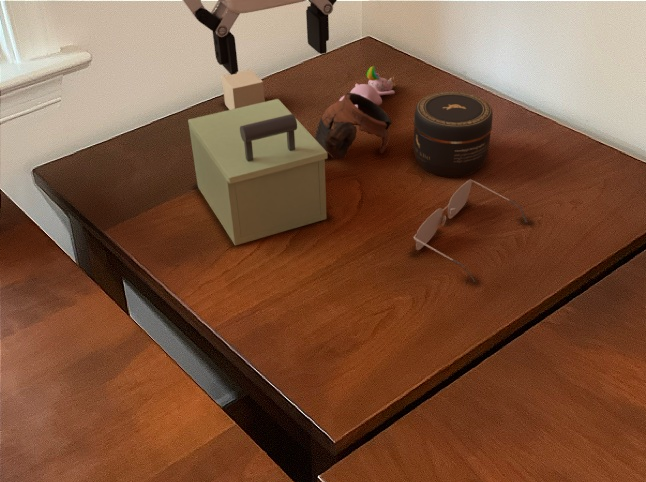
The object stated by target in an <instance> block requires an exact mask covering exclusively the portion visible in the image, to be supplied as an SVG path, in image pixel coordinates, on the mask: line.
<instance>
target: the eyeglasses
mask: <svg viewBox="0 0 646 482" xmlns="http://www.w3.org/2000/svg"><path fill="white" fill-rule="evenodd" d="M472 184H475V185H478V186H480V187H481V188H483V189H485V190H487V191H489V192H491V193H493V194H495V195H497V196H499V197H501V198H502V199H505V200H506V201H508V202H510V203H511V204H513V205H515V206H516V207H518V208H519V210H520V211H521V214H522V217H523V220H524V222H525V223H526V224H527V223H528V220H527V218H526V216H525V213H524V210H523V209H522V207H521V205H519V204H518V203H516V202H514V201H513V200H511V199H509V198H507V197H506V196H503V195H501V194H500V193H498V192H496V191H494V190H492V189H491V188H488V187H487V186H485V185H483V184H481V183H480V182H477V181H475V180H473V179H471V178H470V179H468V180H467V181H466V182H464V183H463V184H461V186H460V187H459V188H458V189H456V191H455V192H453V194H452V196H451V197H450V199H449V201H448V204H447V205H446V206H445V207H444V208H441V207H440V208H437V209H436V210H435V211H433V213H431V214H430V216H428V217H427V218H426V219H425V221H423V222H422V224H421V225H420V226H419V228H418V229H417V232H416V233H415V234H414V235H413V240H414V241H415V250H416V251H420V250H421V249H422V248H424V247H426V248H428V249H430V250H432V251H434V252H436V253H438V254H439V255H441V256H443V257H445V258H447V259H449V260H451V261H452V262H454V263H455V264H457V265H459V266H461V267H463V268H464V269H465V270H466V272H467V273H468V275H469V276H470V278H471V280H472V281H473V282H476V280H475V278H474V276H473V275H472V273H471V271H470V270H469V269H468V267H466V265H464V264H462V263H460V261H457V260H455V259H453V258H451V257H450V256H449V255H446V254H445V253H442V252H441V251H439V250H438V249H435V248H434V247H432V246H431V245H429V244H427V243H428V242H429V241H430V240H431V239H432V238H433V237H434V236H435V234H436V233H437V230H438V228H439V226H441V227H444V225H445V223H446V221H447V218H448V219H449V220H451V219H452V218H453V217H455V216H456V215H457V214H458V213H459V212H460V211H461V210H462V209H463V207H464V206H465V205H466V203H467V201H468V198H469V195H470V192H471V188H472ZM446 209H447V216H446V215H443V212H444V211H445V210H446ZM525 223H524V224H525Z"/></svg>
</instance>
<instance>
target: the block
mask: <svg viewBox="0 0 646 482" xmlns="http://www.w3.org/2000/svg"><path fill="white" fill-rule="evenodd" d="M221 82H222V90H223V100H224V105H225V106H226V108H227V109H228V110H232V109H236V108H241V107H245V106H249V105H254V104H258V103H262V102H266V100H265V99H266V98H265V88H264V87H265V86H264V81H263V80H262V79H261V78H260V77H259V76H258V74H256V72H255V71H254V70H253V69H246V70H242V71H238V72H237V74H233V75H231V74H230V73H228V74H224V75H221Z"/></svg>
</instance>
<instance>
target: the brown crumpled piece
mask: <svg viewBox="0 0 646 482" xmlns="http://www.w3.org/2000/svg"><path fill="white" fill-rule="evenodd" d="M344 95H345V96H344ZM344 95H343V96H344V98H343V100H342V101H339V100H338V101H336V102H334V103H332V104H331V105H329V106H328V108H326V109H325V111H324V113H323V114H322V115H321V117H320V121H319V122H318V126H317V127H316V130H315V137H314V139H315V140H316V141H317V142H318V143H319V144H320V145H321V146H322V147H323V148H324V149H325V151H326V152H327V154H329V155H330V156H331V158H332V159H335V160H344V159H346V156H347V155H348V152H349V149H350V147H351V146H352V145H353V143H354V142H355V140H356V137H357V131H358V130H359V131H360V132H364V133H366V134H368V135H374V136H375V137H377V138H381V145H380V147H379V149H378V151H379V153H380V154H383V153H384V152H385V151H386V148H387V146H388V143H389V127H390V126H391V125H392V123H393V122H392V119H391V117H390V115H389V114H388V113H387V112H386V111H385V110H384V109H383V108H382V107H380V105H379V106H378V105H376V104H375V103H374V102H372V101H371V100H369V99H367V98H365V97H363V96H361V95H358V94H355V93H350V92H346V93H345V94H344ZM355 105H358V108H357V107H356V106H355ZM358 126H359V127H358ZM357 127H358V130H357Z"/></svg>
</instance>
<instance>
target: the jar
mask: <svg viewBox="0 0 646 482" xmlns="http://www.w3.org/2000/svg"><path fill="white" fill-rule="evenodd" d="M413 115H414V118H413V144H412V145H413V152H414V156H415V160H416V162H417V163H418V164H419V166H420V167H421V168H422V169H423V170H425V171H426V172H428V173H430V174H433V175H436V176H440V177H445V178H446V177H447V178H460V177H465V176H469V175H471V174H474V173H475V172H477V171H478V170H479V169H481V168H482V167H483V165H484V163H485V161H486V160H487V157H488V154H489V149H490V141H491V133H492V130H493V119H494V113H493V108H492V106H491V105H490V104H489V102H488V101H486V100H485V99H483V98H482V97H480V96H478V95H476V94H472V93H469V92H463V91H451V90H449V91H440V92H434V93H431V94H428V95H426V96H424V97H422V98H421V99H420V100H419V101H418V102H417V104H416V105H415V109H414V114H413Z"/></svg>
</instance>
